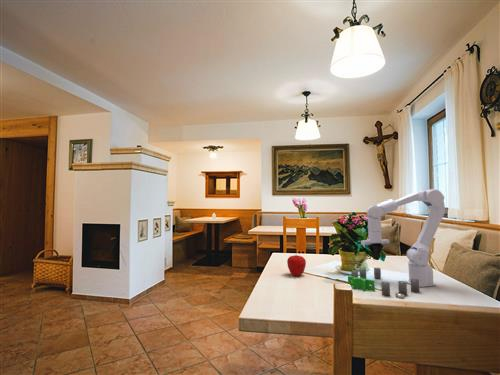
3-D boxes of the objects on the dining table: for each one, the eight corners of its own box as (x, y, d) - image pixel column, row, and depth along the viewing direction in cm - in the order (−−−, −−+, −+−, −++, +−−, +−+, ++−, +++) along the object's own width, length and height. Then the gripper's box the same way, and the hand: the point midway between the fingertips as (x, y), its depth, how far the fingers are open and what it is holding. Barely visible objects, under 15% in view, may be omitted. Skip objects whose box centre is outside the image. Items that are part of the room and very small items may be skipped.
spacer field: (378, 277, 133) (378, 267, 134) (423, 293, 109) (422, 280, 110) (348, 280, 129) (348, 269, 129) (388, 298, 105) (388, 285, 105)
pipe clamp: (345, 288, 118) (345, 277, 118) (349, 286, 121) (348, 275, 121) (372, 293, 111) (371, 282, 111) (375, 291, 113) (374, 280, 114)
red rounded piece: (307, 277, 134) (307, 256, 134) (288, 278, 134) (288, 256, 134) (304, 272, 143) (303, 252, 144) (286, 272, 144) (286, 252, 144)
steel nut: (398, 295, 108) (398, 292, 108) (406, 298, 105) (406, 294, 105) (393, 297, 106) (393, 293, 106) (401, 299, 103) (401, 296, 103)
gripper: (381, 229, 133) (382, 256, 132) (356, 230, 129) (357, 258, 128) (392, 230, 126) (393, 259, 125) (366, 232, 122) (367, 261, 121)
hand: (375, 259), depth 126 cm, fingers closed
